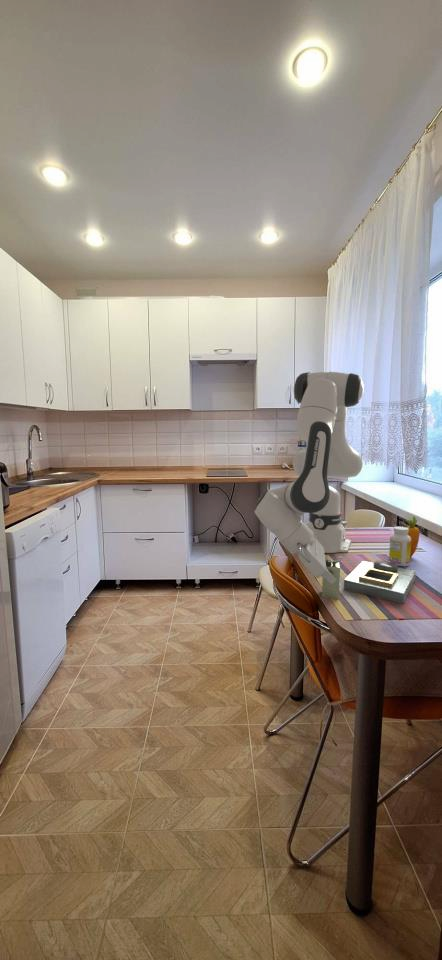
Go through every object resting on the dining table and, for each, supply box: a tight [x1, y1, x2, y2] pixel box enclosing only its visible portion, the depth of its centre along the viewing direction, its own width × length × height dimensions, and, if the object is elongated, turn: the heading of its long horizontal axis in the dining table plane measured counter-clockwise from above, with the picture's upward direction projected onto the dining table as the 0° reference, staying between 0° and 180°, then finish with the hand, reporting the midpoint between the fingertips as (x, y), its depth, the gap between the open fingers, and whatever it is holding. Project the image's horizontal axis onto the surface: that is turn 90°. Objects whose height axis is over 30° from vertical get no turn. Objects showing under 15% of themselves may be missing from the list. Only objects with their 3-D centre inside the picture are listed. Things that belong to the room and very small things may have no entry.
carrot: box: [405, 516, 421, 558], centre depth 139 cm, size 5×5×15 cm
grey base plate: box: [343, 560, 417, 604], centre depth 116 cm, size 22×16×4 cm
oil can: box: [321, 555, 343, 600], centre depth 107 cm, size 4×5×12 cm
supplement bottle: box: [388, 526, 411, 567], centre depth 133 cm, size 7×7×13 cm
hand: (332, 574), depth 107 cm, fingers open, 8 cm apart
